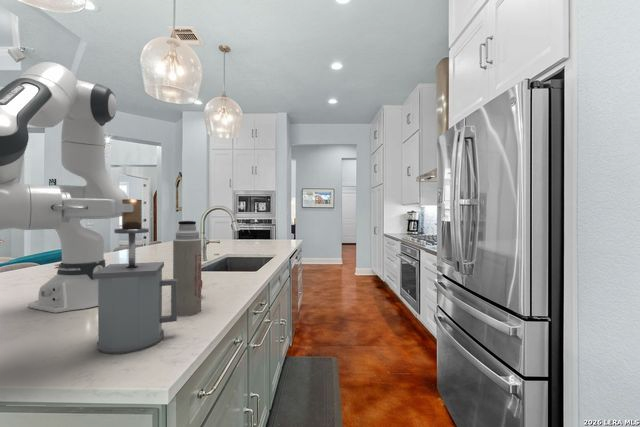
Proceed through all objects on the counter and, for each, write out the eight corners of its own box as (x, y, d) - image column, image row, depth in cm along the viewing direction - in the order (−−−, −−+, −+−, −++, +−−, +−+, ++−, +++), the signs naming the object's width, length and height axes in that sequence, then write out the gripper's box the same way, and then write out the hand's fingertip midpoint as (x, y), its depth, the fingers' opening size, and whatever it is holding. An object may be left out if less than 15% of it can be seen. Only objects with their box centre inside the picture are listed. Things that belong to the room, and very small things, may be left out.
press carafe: (87, 358, 66) (87, 274, 66) (107, 333, 79) (107, 263, 79) (173, 347, 71) (174, 270, 71) (179, 326, 84) (179, 260, 84)
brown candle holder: (100, 285, 68) (100, 198, 68) (113, 276, 78) (113, 199, 77) (151, 282, 71) (151, 199, 71) (158, 273, 81) (158, 200, 81)
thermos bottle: (206, 308, 99) (206, 220, 99) (191, 317, 92) (191, 221, 91) (183, 306, 101) (184, 220, 101) (167, 315, 93) (167, 221, 93)
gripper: (58, 190, 56) (142, 193, 66) (39, 193, 69) (111, 195, 80) (58, 225, 56) (142, 223, 66) (39, 221, 69) (111, 220, 80)
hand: (125, 208), depth 73 cm, fingers open, 8 cm apart
